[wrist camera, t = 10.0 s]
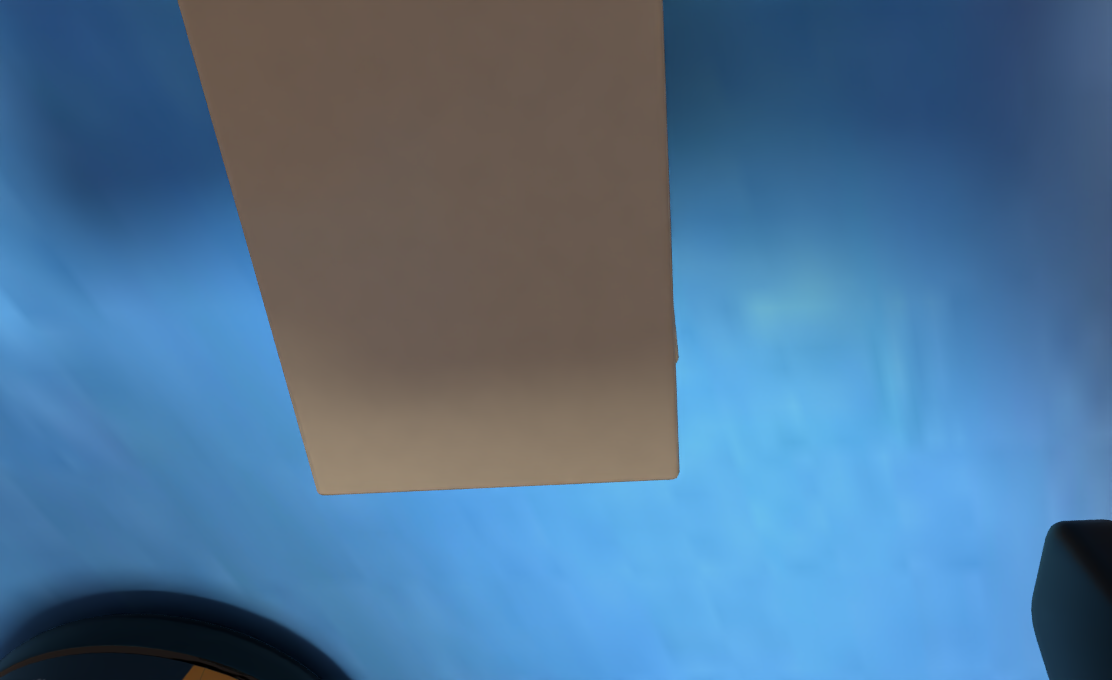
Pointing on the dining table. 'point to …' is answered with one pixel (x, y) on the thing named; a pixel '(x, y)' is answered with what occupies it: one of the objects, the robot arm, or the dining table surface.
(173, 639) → the supplement container
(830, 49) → the dining table surface
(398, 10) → the taupe flat block
